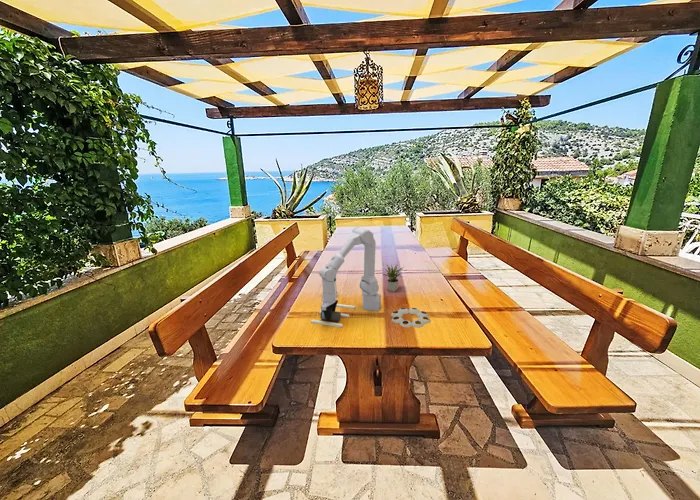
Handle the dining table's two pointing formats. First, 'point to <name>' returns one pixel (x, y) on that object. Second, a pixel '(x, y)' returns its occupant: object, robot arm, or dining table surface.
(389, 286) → the house plant
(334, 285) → the jar
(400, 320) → the paint palette
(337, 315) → the banded tin can
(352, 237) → the robot arm
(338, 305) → the cream cylinder cradle
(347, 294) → the dining table surface
